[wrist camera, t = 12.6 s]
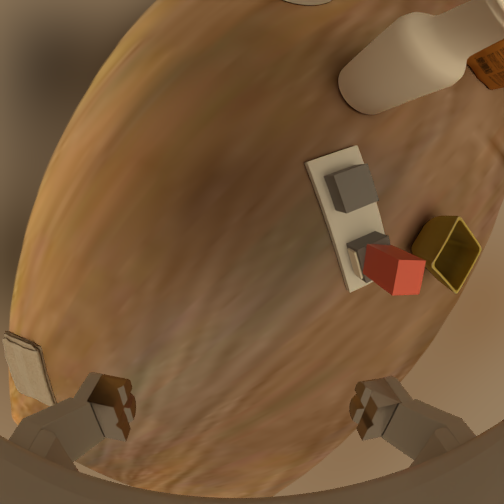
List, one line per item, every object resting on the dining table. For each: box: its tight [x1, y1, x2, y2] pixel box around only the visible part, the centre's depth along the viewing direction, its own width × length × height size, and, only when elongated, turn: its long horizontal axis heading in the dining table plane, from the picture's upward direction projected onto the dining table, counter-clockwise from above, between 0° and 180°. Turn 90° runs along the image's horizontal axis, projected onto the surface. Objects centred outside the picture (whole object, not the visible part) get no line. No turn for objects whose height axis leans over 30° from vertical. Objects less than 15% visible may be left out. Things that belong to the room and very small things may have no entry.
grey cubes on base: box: [304, 145, 390, 292], centre depth 37 cm, size 20×8×6 cm, turn 22°
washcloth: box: [2, 331, 57, 406], centre depth 41 cm, size 12×18×3 cm, turn 171°
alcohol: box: [338, 0, 504, 115], centre depth 20 cm, size 9×9×30 cm
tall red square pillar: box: [363, 244, 426, 295], centre depth 31 cm, size 4×4×8 cm
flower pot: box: [411, 216, 482, 294], centre depth 37 cm, size 9×9×9 cm
